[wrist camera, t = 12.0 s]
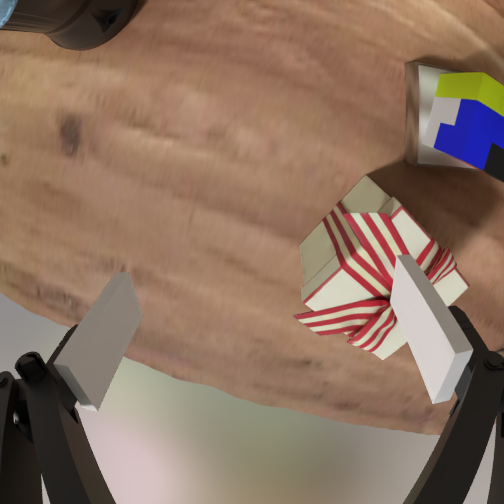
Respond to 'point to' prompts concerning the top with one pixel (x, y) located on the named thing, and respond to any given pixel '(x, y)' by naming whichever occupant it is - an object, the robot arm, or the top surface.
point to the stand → (424, 116)
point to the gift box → (368, 268)
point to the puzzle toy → (469, 121)
